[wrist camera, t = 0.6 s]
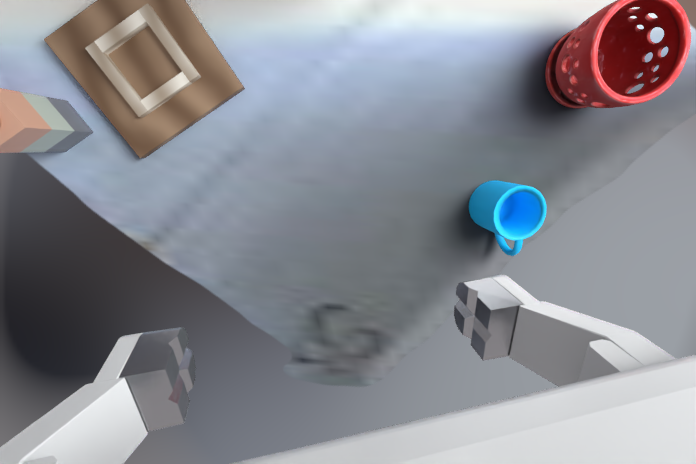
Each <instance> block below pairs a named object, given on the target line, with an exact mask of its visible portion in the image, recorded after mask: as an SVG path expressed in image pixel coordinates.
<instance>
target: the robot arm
mask: <svg viewBox="0 0 696 464" xmlns="http://www.w3.org/2000/svg"><path fill="white" fill-rule="evenodd" d="M456 295H457V296H458V298H459V301H458V302H457V303H456V305H455V306H454V317H455V322H456V325H457V327H458V329H459V330H460V332H461V333H462V334H463V335H464V336H466V337H468V338H470V339H471V346H472V347H473V349H474V350H475V351H476V352H477V354H478V355H479V356H480V357H481V359H482V360H483V361H484V360H489V359H495V358H501V357H506V356H509V357H510V358H512V359H513V360H515V361H516V362H518V363H520V364H521V365H523V366H525V367H526V368H528V369H530V370H531V371H533V372H535V373H536V374H538V375H540V376H542V377H543V378H545V379H547V380H548V381H550V382H552V383H553V384H555V385H557V386H558V387H555V388H551V389H546V390H542V391H538V392H534V393H529V394H525V395H521V396H517V397H512V398H508V399H504V400H500V401H495V402H491V403H487V404H482V405H478V406H474V407H470V408H465V409H461V410H457V411H452V412H448V413H444V414H439V415H435V416H431V417H427V418H422V419H418V420H414V421H410V422H405V423H401V424H397V425H393V426H388V427H384V428H380V429H376V430H371V431H368V432H363V433H359V434H354V435H350V436H346V437H342V438H337V439H333V440H329V441H325V442H320V443H316V444H312V445H308V446H303V447H300V448H295V449H291V450H287V451H282V452H278V453H274V454H269V455H266V456H261V457H257V458H252V459H248V460H244V461H240V462H235V463H231V464H696V354H695V355H691V356H686V357H683V358H678V359H676V358H674V357H673V356H671V355H669V354H668V353H667V352H665V351H664V350H662V349H661V348H659V347H658V346H656V345H655V344H653V343H652V342H650V341H649V340H647V339H646V338H644V337H643V336H642V335H640V334H638V333H637V332H636V331H633V330H630V329H627V328H623V327H621V326H618V325H615V324H611V323H608V322H605V321H602V320H599V319H596V318H593V317H590V316H587V315H584V314H581V313H578V312H575V311H572V310H569V309H566V308H563V307H560V306H557V305H554V304H551V303H548V302H545V301H543V302H539V301H538V300H536V299H535V298H534V297H533V296H531V295H530V294H529V293H528V292H526V291H525V290H524V289H523V288H521V287H520V286H519V285H518V284H516V283H515V282H514V281H513V280H511V279H510V278H509V277H508V276H505V275H497V276H492V277H488V278H484V279H478V280H472V281H466V282H460V283H458V285H457V288H456ZM188 340H189V338H188V336H187V332H186V330H185V329H184V328H182V327H180V328H174V329H166V330H159V331H153V332H145V333H139V334H133V335H126V336H123V337H121V338H119V340H118V341H117V343H116V345H115V346H114V348H113V350H112V351H111V353H110V355H109V356H108V358H107V360H106V362H105V363H104V365H103V367H102V369H101V370H100V372H99V374H98V375H97V377H96V379H95V381H94V382H93V383H91V384H86V385H85V386H83V387H82V388H80V389H79V390H78V391H76V392H75V393H74V394H72V395H71V396H70V397H68V398H67V399H66V400H64V401H63V402H61V403H60V404H59V405H57V406H56V407H55V408H54V409H52V410H51V411H49V412H48V413H46V414H45V415H44V416H42V417H41V418H40V419H38V420H37V421H36V422H35V423H33V424H32V425H30V426H29V427H27V428H26V429H25V430H23V431H22V432H21V433H19V434H18V435H17V436H15V437H14V438H12V439H11V440H10V441H9V442H7V443H6V444H4V445H3V446H2V447H0V464H123V463H124V462H125V461H126V460H127V458H128V457H129V456H130V455H131V454H132V452H133V451H134V450H135V449H136V447H137V446H138V445H139V444H140V443H141V441H142V440H143V439H144V438H145V437H146V435H147V434H148V433H147V432H149V431H154V430H157V429H162V428H166V427H170V426H175V425H179V424H183V423H184V421H185V418H186V414H187V410H188V406H189V402H190V400H189V397H188V394H187V393H188V392H189V390H191V389H192V388H193V385H194V381H195V368H196V367H195V360H194V355H193V352H192V351H191V350H189V349H188V348H186V346H187V343H188Z"/></svg>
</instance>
